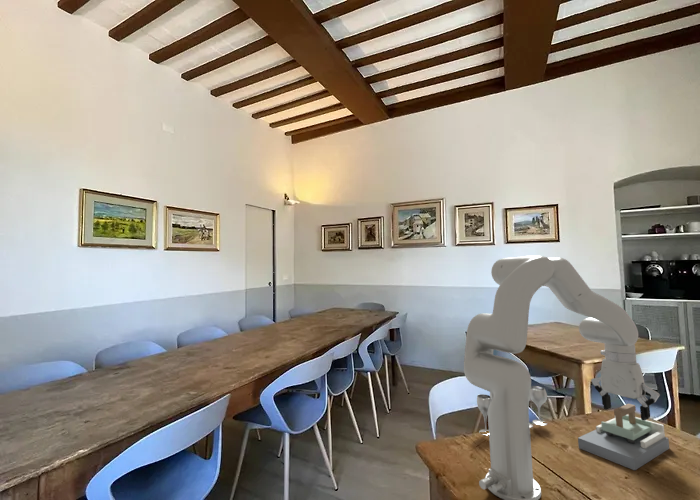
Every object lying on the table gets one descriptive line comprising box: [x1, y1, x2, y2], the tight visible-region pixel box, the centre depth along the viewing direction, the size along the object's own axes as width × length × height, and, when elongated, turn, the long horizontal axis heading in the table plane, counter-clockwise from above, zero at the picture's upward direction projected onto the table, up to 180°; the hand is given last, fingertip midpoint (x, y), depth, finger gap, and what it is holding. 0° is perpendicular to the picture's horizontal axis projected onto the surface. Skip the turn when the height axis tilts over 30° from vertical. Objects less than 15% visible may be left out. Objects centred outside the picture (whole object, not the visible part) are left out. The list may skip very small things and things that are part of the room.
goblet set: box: [476, 385, 548, 437], centre depth 118 cm, size 28×6×13 cm, turn 106°
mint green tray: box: [600, 403, 652, 444], centre depth 103 cm, size 12×8×8 cm, turn 119°
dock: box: [577, 414, 670, 471], centre depth 102 cm, size 22×14×6 cm, turn 119°
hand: (625, 413), depth 104 cm, fingers open, 9 cm apart
